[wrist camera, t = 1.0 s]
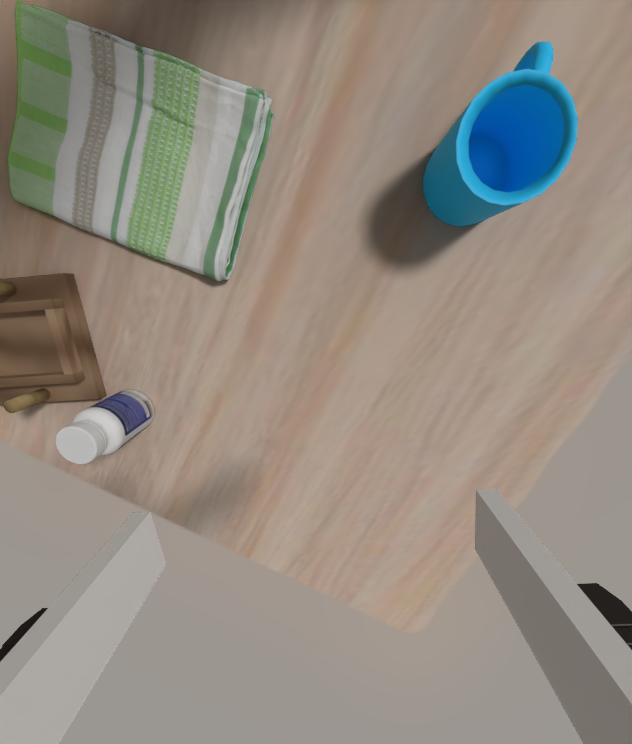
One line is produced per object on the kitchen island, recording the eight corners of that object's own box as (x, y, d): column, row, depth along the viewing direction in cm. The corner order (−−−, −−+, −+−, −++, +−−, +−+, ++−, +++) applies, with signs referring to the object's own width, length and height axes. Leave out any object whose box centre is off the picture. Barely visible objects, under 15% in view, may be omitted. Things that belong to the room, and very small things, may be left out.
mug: (486, 238, 31) (539, 221, 23) (409, 210, 30) (436, 183, 22) (549, 99, 27) (636, 24, 20) (463, 66, 27) (518, -24, 19)
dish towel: (230, 286, 34) (219, 286, 30) (23, 208, 32) (-14, 199, 29) (280, 108, 29) (273, 84, 26) (40, 10, 28) (-1, -29, 24)
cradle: (-37, 283, 34) (-100, 283, 29) (73, 273, 33) (27, 271, 28) (6, 401, 38) (-44, 418, 33) (106, 395, 37) (71, 412, 32)
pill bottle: (118, 381, 37) (53, 410, 28) (160, 399, 37) (108, 433, 28) (108, 419, 38) (44, 457, 29) (149, 435, 38) (96, 478, 30)
